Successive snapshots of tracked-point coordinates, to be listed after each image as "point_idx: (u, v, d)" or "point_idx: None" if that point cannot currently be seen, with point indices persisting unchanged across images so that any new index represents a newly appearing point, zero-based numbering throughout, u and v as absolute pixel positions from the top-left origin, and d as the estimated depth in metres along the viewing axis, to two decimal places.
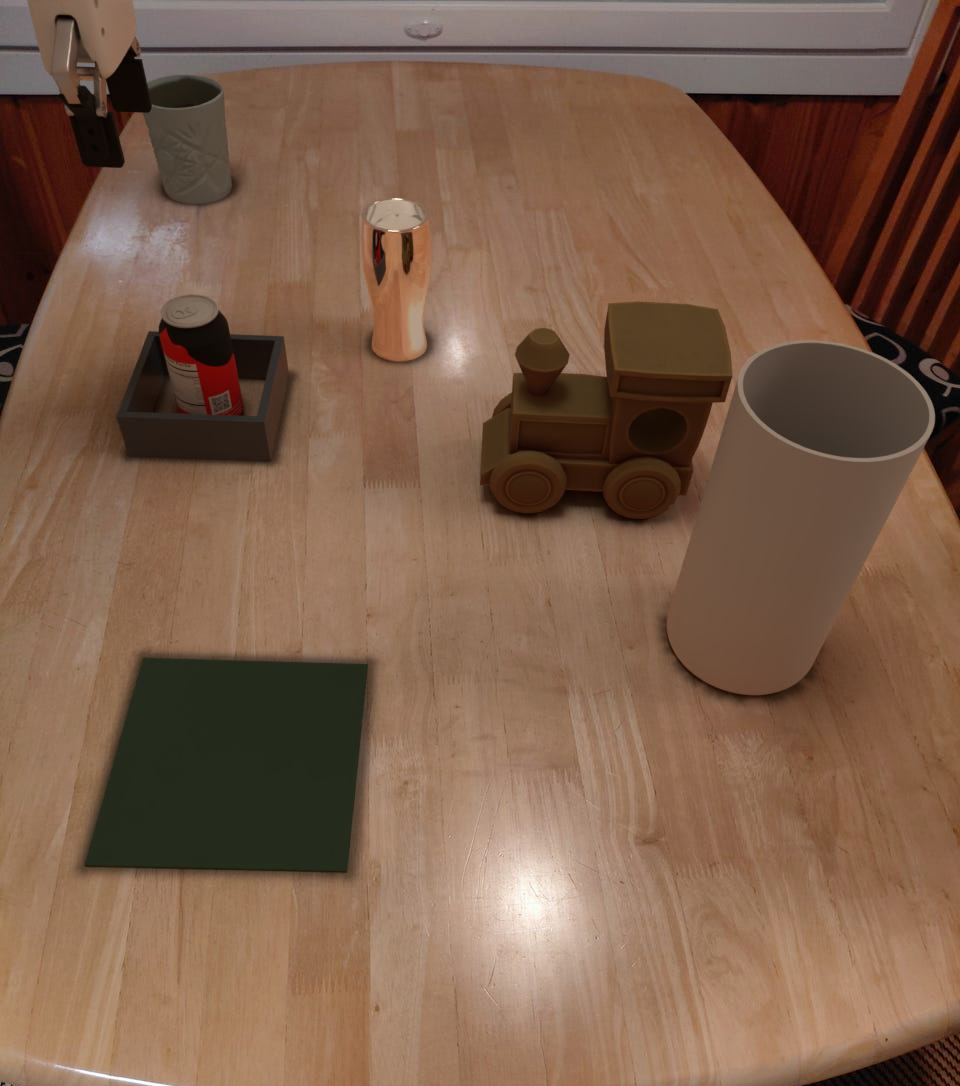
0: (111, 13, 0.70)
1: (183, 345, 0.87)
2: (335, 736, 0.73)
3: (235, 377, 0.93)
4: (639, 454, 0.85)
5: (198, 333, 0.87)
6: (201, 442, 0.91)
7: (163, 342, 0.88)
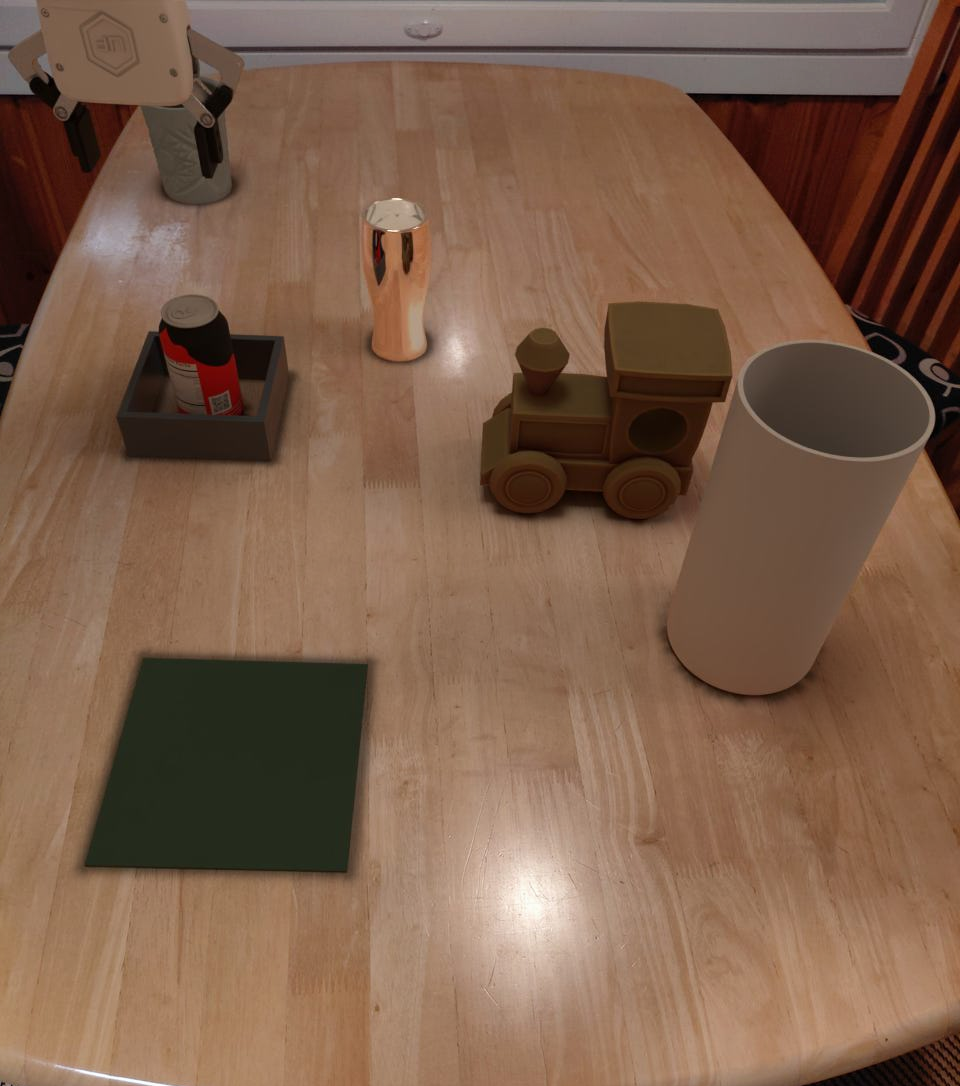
0: None
1: (183, 345, 0.87)
2: (335, 736, 0.73)
3: (235, 377, 0.93)
4: (639, 454, 0.85)
5: (198, 333, 0.87)
6: (201, 442, 0.91)
7: (163, 342, 0.88)
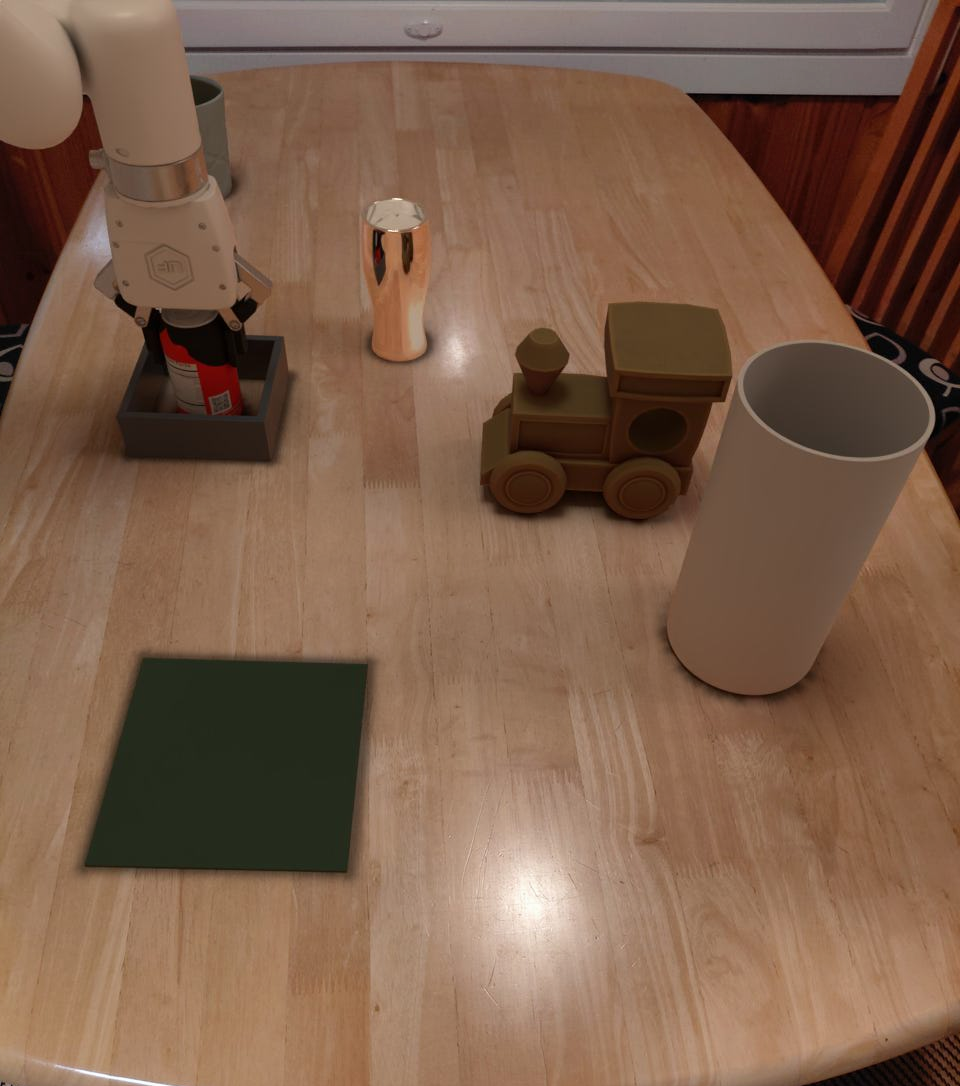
0: None
1: (183, 345, 0.87)
2: (335, 736, 0.73)
3: (235, 377, 0.93)
4: (639, 454, 0.85)
5: (198, 333, 0.87)
6: (201, 442, 0.91)
7: (163, 342, 0.88)
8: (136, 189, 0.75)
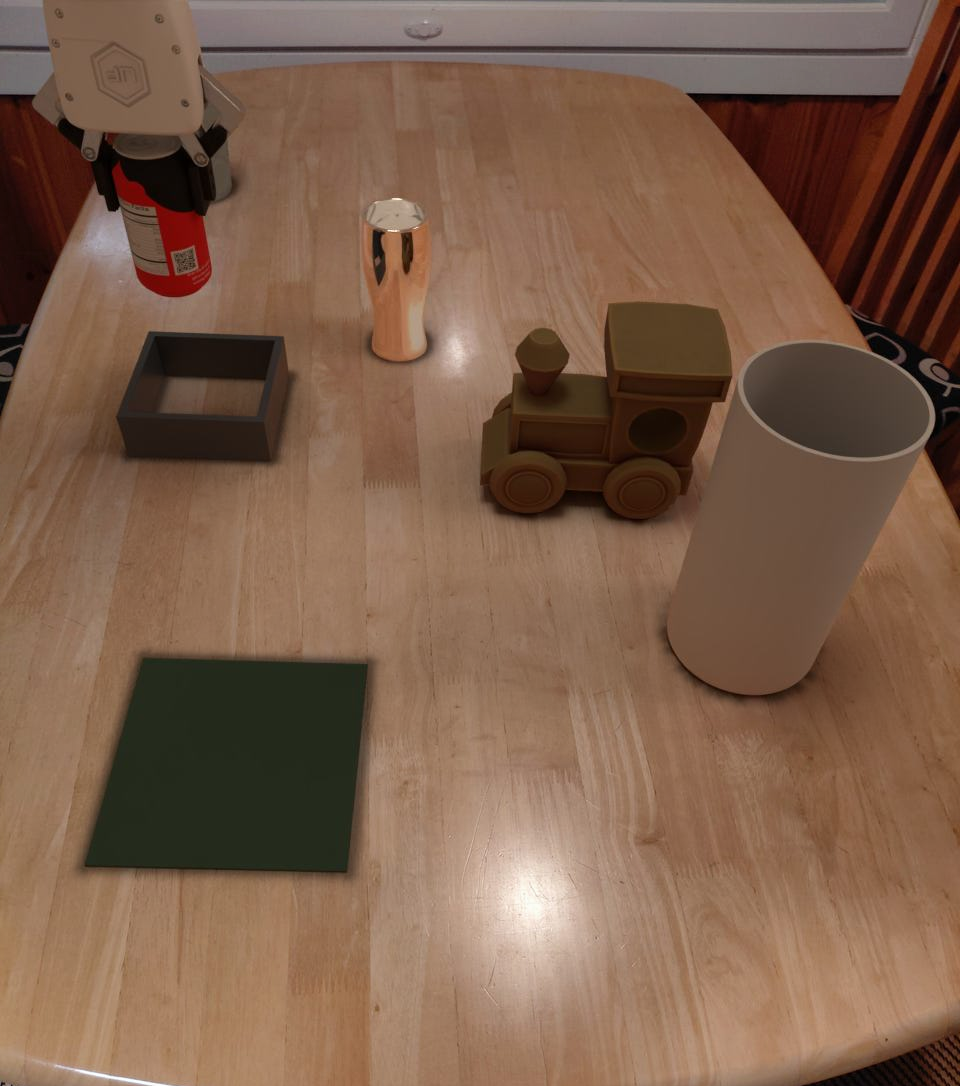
0: None
1: (139, 181, 0.74)
2: (335, 736, 0.73)
3: (202, 231, 0.80)
4: (639, 454, 0.85)
5: (157, 167, 0.74)
6: (201, 442, 0.91)
7: (116, 180, 0.75)
8: None
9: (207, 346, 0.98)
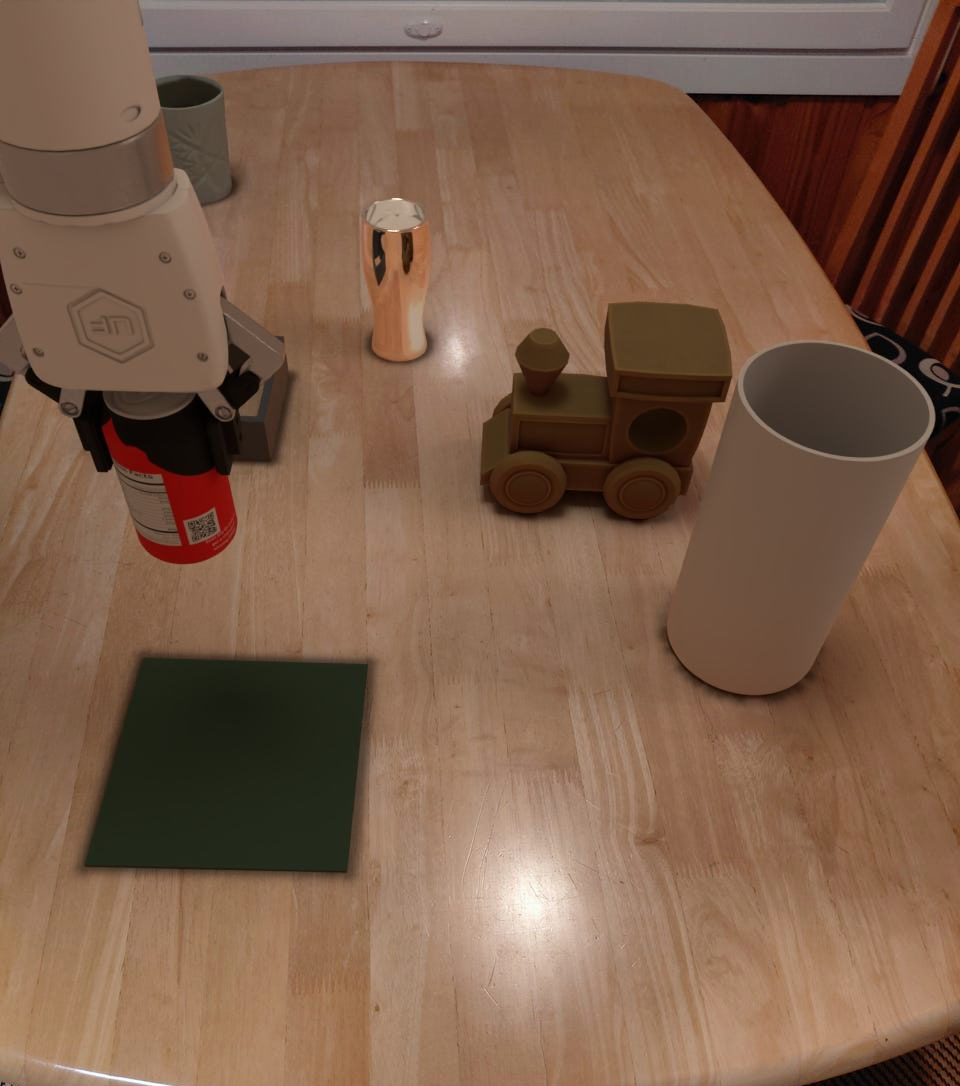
0: None
1: (139, 446, 0.53)
2: (335, 736, 0.73)
3: (225, 486, 0.59)
4: (639, 454, 0.85)
5: (165, 427, 0.53)
6: None
7: (108, 440, 0.54)
8: (43, 194, 0.42)
9: None
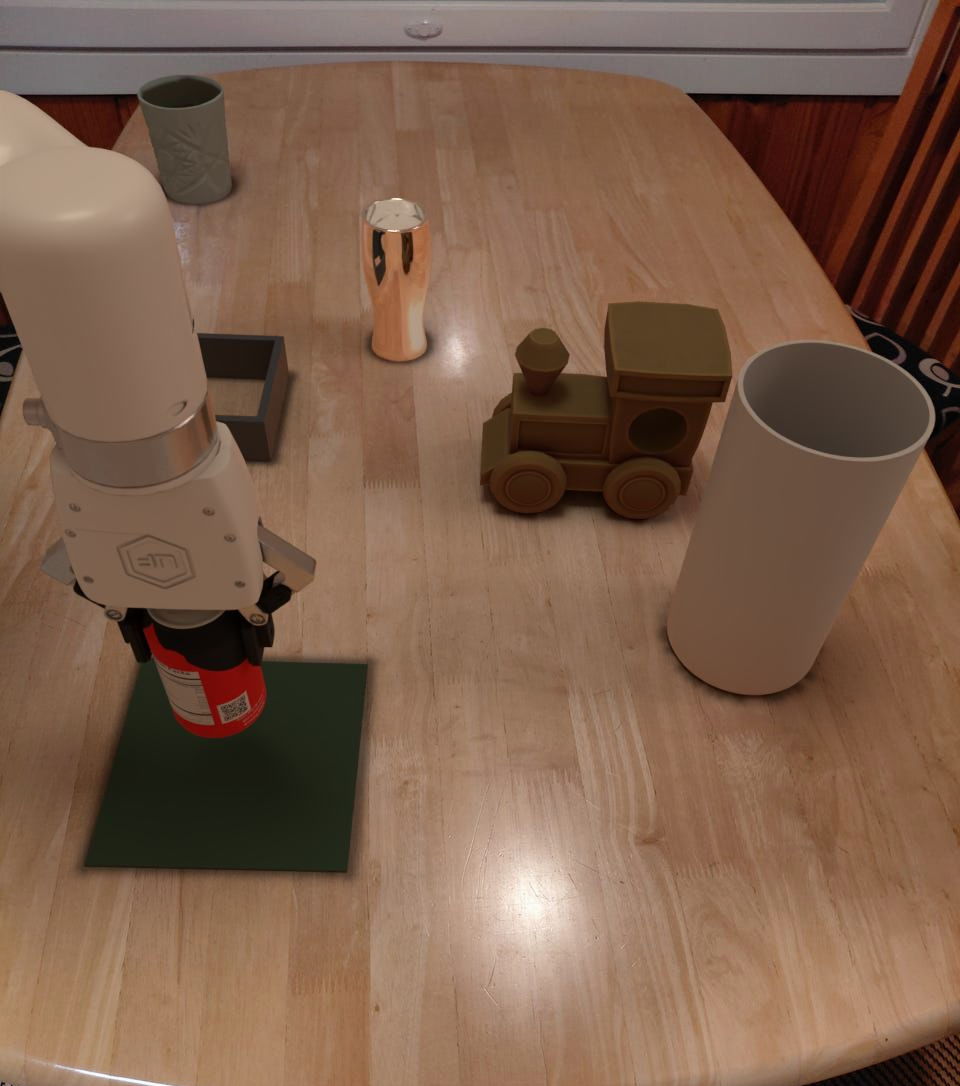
0: None
1: (179, 651, 0.57)
2: (335, 736, 0.73)
3: (256, 669, 0.63)
4: (639, 454, 0.85)
5: (202, 633, 0.57)
6: None
7: (149, 641, 0.58)
8: (100, 471, 0.45)
9: (207, 346, 0.98)
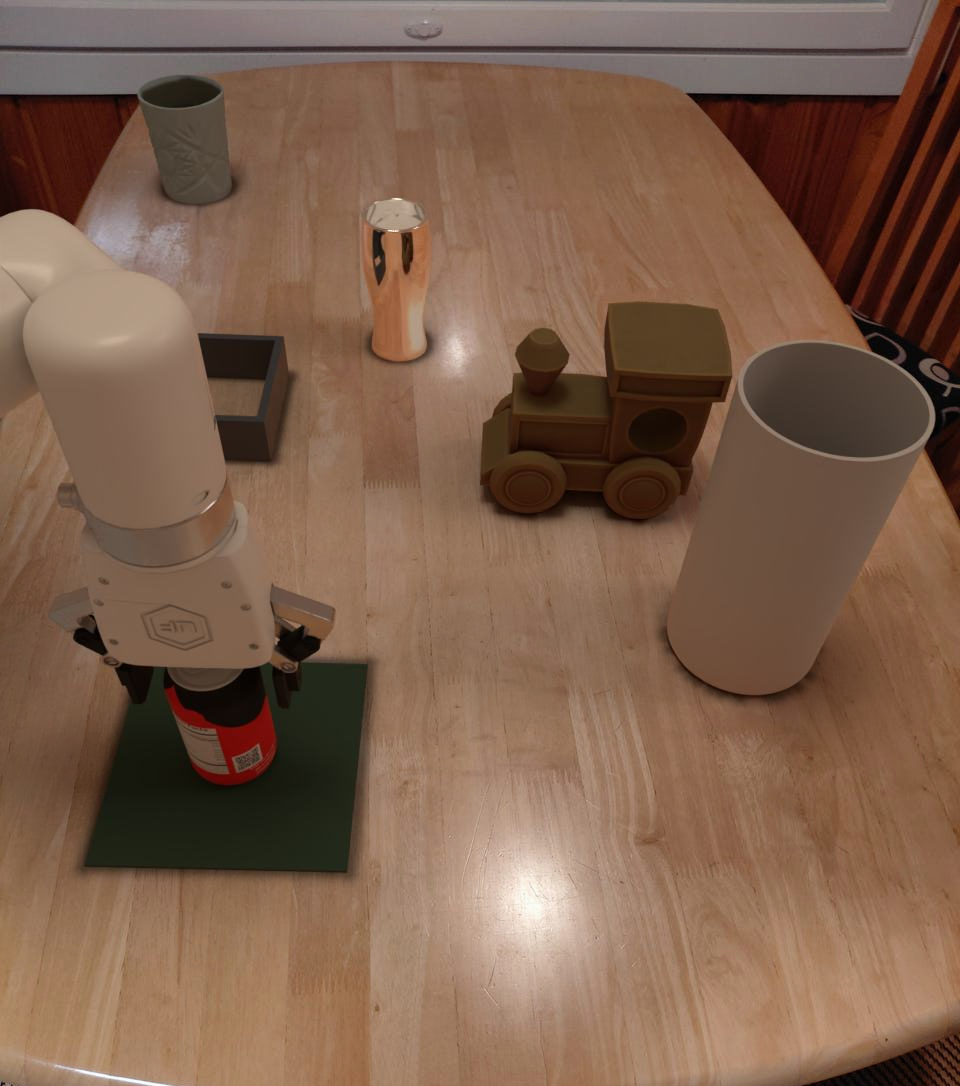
0: None
1: (198, 711, 0.62)
2: (335, 736, 0.73)
3: (268, 723, 0.68)
4: (639, 454, 0.85)
5: (219, 695, 0.62)
6: None
7: (170, 701, 0.63)
8: (128, 553, 0.50)
9: (207, 346, 0.98)
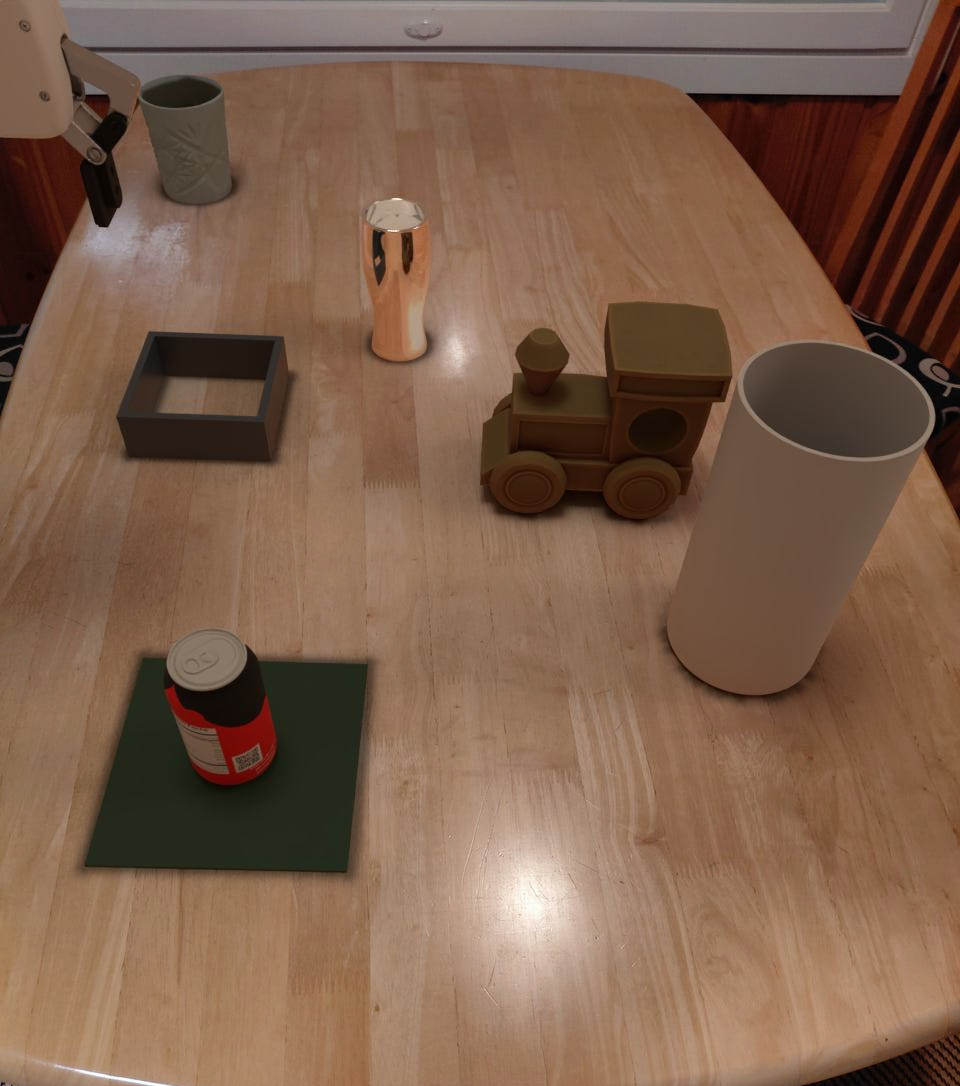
0: None
1: (198, 710, 0.62)
2: (335, 736, 0.73)
3: (268, 723, 0.68)
4: (639, 454, 0.85)
5: (219, 694, 0.62)
6: (201, 442, 0.91)
7: (170, 701, 0.63)
8: None
9: (207, 346, 0.98)
